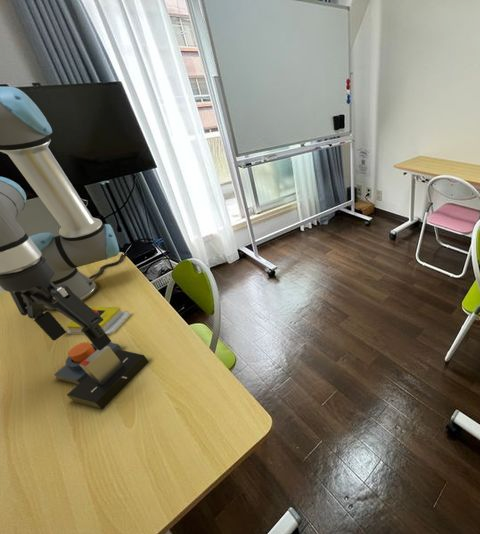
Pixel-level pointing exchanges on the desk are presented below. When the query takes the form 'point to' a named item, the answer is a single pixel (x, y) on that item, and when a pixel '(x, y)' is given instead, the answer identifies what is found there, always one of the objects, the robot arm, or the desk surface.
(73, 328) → the emergency button
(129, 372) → the cooker panel
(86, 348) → the push knob
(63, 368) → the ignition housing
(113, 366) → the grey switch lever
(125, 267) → the desk surface
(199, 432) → the desk surface
